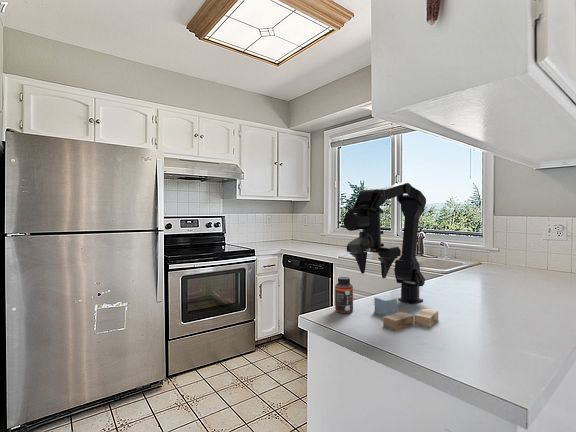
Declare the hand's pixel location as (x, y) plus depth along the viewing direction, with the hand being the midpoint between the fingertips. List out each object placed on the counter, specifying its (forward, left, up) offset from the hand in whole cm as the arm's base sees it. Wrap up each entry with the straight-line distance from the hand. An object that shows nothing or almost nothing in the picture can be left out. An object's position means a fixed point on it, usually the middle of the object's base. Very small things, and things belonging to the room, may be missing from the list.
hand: (372, 275), depth 108 cm
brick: (-7, +15, -13) cm, 21 cm away
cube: (-4, +2, -13) cm, 13 cm away
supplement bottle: (+6, -7, -13) cm, 16 cm away
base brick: (+2, +12, -13) cm, 17 cm away
